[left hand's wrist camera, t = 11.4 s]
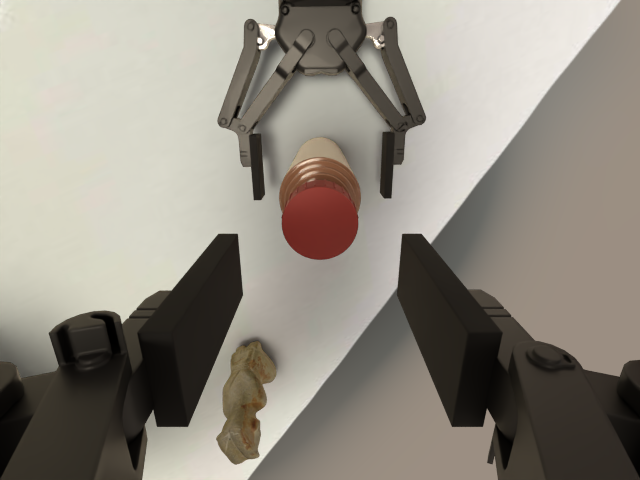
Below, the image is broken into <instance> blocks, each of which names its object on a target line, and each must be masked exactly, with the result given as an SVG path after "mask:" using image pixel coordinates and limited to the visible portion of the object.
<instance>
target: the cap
mask: <svg viewBox="0 0 640 480" xmlns="http://www.w3.org/2000/svg"><path fill="white" fill-rule="evenodd" d="M284 209H285V210H284V212H283V215H282V230H283V234H284V236H285V239H286V241H287V242H288V244H289V245H290V246H291V247H292V248H293V249H294V250H295V251H296V252H297V253H299V254H301V255H302V256H305V257H307V258H310V259H317V260H323V259H330V258H333V257H335V256H338V255H339V254H341V253H343V252H344V251H345V250H346V249H347V248H348V247H349V246H350V245H351V244H352V242H353V241H354V239H355V236H356V234H357V230H358V215H357V212H356V210H355V209H356V207H355V204H354V201H352V199H351V197H350V194H349V193H347V192H346V191H345V190H344V189H343V187H341V186H339V185H338V184H336V183H335V182H331V181H326V179H324V180H316V179H315V180H314V181H310V182H305V183H304V184H302V185H301V186H299V187H297V189H296V190H295V191H294V192H293V193H291V194H290V197H289V199H288V201H286V204H285V207H284Z"/></svg>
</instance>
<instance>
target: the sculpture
mask: <svg viewBox="0 0 640 480" xmlns="http://www.w3.org/2000/svg"><path fill="white" fill-rule="evenodd" d="M275 377H276V368H275V365H274V363H273V362H272V360H271V359H270V358H269V357H268V356H267V355H266V354H265V352H264V351H263V350H262V348H261V343H260V342H259V341H255V342H252V343H250V344H249V345H248V346H247V347H246V346H244V345H243V346H240V347H238V348H237V350H236V352H235V353H234V354H232V358H231V376H230V377H229V379H228V380H227V382H226V384H225V385H224V388H223V412H224V415H225V417H226V418H227V421H226V422H225V424H224V427H223V429H222V432H221V433H220V434H219V435H218V436H217V438H216V440H217V441H218V445H219V447H220V449H221V450H222V452H223V453H224V454H225V455H226V456H227V457H228V459H229V460H230V461H231V462H232V463H233V464H240V463H242V462H244V461H245V460H247V459H255V458H258V457H259V453H258V445H259V441H260V436H261V432H260V421H259V420H258V419H257V418H256V415H255V414H256V412H258V411H259V410H261V409H262V408H263V407H265V405H266V402H267V397H266V393H265V391H264V388H263V385H262V384H266V383H270V382H272V381H273V380H274V379H275Z"/></svg>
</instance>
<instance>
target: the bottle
mask: <svg viewBox="0 0 640 480" xmlns="http://www.w3.org/2000/svg"><path fill="white" fill-rule="evenodd" d="M315 179H316V180H324V179H326V181H331V182H335V183H336V184H338V185H339V186H341V187H343V189H344V190H345V191H346V192H347V193H349V194H350V197H351V199H352V201H354V204H355V207H356V209H355V210H356V212H357V213H358V210H359V207H360V201H361V192H360V187H359V184H358V181H357V179H356V177H355V175H354V173H353V172H352V170H351V168H350V166H349V164H348V162H347V160H346V158H345V157H344V155H343V153H342V151H341V149H340V148H339V146H338V145H337V144H336V143H335V142H333V141H332V140H330V139H327V138H323V137H317V138H313V139H310V140H308V141H307V142H305V143H304V144H303V145H302V146H301V148H300V149H299V151H298V153H297V155H296V157H295V158H294V160H293V162H292V164H291V166H290V168H289V170H288V172H287V173H286V175H285V177H284V179H283V181H282V184H281V187H280V192H279V201H280V207H281V210H282V213H283V212H284V210H285V209H284V207H285V204H286V201H288V199H289V197H290V194H291V193H293V192H294V191H295V190H296V189H297V187H299V186H301V185H302V184H304V183H305V182H310V181H314V180H315Z"/></svg>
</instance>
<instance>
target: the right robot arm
mask: <svg viewBox="0 0 640 480" xmlns="http://www.w3.org/2000/svg"><path fill="white" fill-rule="evenodd" d="M365 38H369V39H370V40H371V41H372V43H373V46H374V47H375V48H377V49H381V54H382V58H383V60H384V63H385V65H386V68H387V70H388V73H389V75H390V78H391V80H392V83H393V85H394V87H395V90H396V92H397V95H398V97H399V100H400V102H401V105H402V107H403V110H404V112H405V114H406V115H405V116H403V117H402V116H401V115H400V113H399V112H398V111H397V109H396V108H395V107H394V105H393V104H392V102H391V101H390V100H389V98H388V97H387V96H386V94H385V93H384V92H383V90H382V89H381V88H380V86H379V85H378V84H377V82H376V81H375V80H374V78H373V77H372V76H371V74H370V73H369V72H368V70H367V69H366V67H365V65H364V63H363V62H362V61H361V59H360V58H359V57H358V55H357V54H356V52H357V50H358V49H359V47H360V46H361V44H362V43H363V41H364V40H365ZM273 39H276V40H277V42H278V44H279V45H280V46H281V48H282V49H283V51H284V52H285V54H286V55H285V56H284V58H283V59H282V61H281V62H280V63H279V65H278V66H277V68H276V70H275V72H274V73H273V75H272V76H271V78H270V79H269V80H268V82H267V83H266V85H265V86H264V88H263V89H262V90H261V92H260V93H259V95H258V96H257V97H256V99H255V100H254V102H253V103H252V105H251V106H250V107H249V109H248V110H247V112H246V113H245V115H244V116H243V117H242V119H239V118H237V117H238V114H239V112H240V109H241V107H242V104H243V101H244V99H245V96H246V93H247V91H248V88H249V85H250V83H251V80H252V77H253V75H254V72H255V70H256V67H257V64H258V62H259V58H260V54H261V51H264V50H266V49H267V48H268V45H269V43H270V41H271V40H273ZM344 70H346V71H347V73H348V74H349V75H350V77H351V78H352V79H353V80H354V81H355V82H356V84H357V85H358V86H359V87H360V89H361V90H362V91H363V93H364V94H365V95H366V97H367V98H368V99H369V101H370V102H371V103H372V104H373V106H374V107H375V108H376V110H377V111H378V112H379V114H380V115H381V116H382V118H383V119H384V120H385V121H386V123H387V124H388V125H389V127H390V128H391V132H383V138H382V160H381V181H380V193H381V195H382V196H383V198H391V195H392V178H393V165H401V164H402V162H403V160H404V145H405V134H406V132H407V130H408V129H410V128H412V127H415V126H417V125H422V124H423V123H424V122H425V120H426V116H425V113H424V110H423V108H422V105H421V103H420V100H419V98H418V95H417V92H416V90H415V87H414V85H413V82H412V80H411V77H410V75H409V72H408V69H407V67H406V64H405V62H404V59H403V57H402V54H401V51H400V49H399V46H398V37H397V22H396V20H395V18H393V17H388V18H386V19H385V21H383V22H376V23H370V24H365V22H364V20H363V16H362V0H279V17H278V21H277V23H276V25H267V24H259V23H256V21H255V20H253V19H248V20H247V21H246V22H245V25H244V48H243V50H242V53H241V56H240V59H239V61H238V64H237V67H236V70H235V73H234V75H233V78H232V81H231V84H230V86H229V89H228V92H227V95H226V98H225V100H224V103H223V106H222V109H221V111H220V114H219V117H218V124H219V126H220V127H222V128H227V129H230V130H232V131H234V132H236V133H237V135H238V138H239V148H240V159H241V163H242V165H243V167H251V170H252V182H253V195H254V200H261V199H262V198H263V196H264V195H265V188H264V174H263V160H262V145H261V134H253V129H254V128H255V126H256V125H257V124H258V122H259V121H260V119H261V118H262V117H263V115H264V114H265V113H266V111H267V110H268V108H269V107H270V106H271V104H272V103H273V102H274V100H275V99H276V97H277V96H278V95H279V93H280V92H281V90H282V89H283V88H284V86H285V85H286V84H287V82H288V81H289V80H290V79H291V78H292V76H293V75H294V73H295V72H296V71H299V72H300V73H301V74H304V75H305V76H314V75H317V74H320V73H322V74H326V75H337V74H339V73H341V72H343V71H344Z"/></svg>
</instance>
